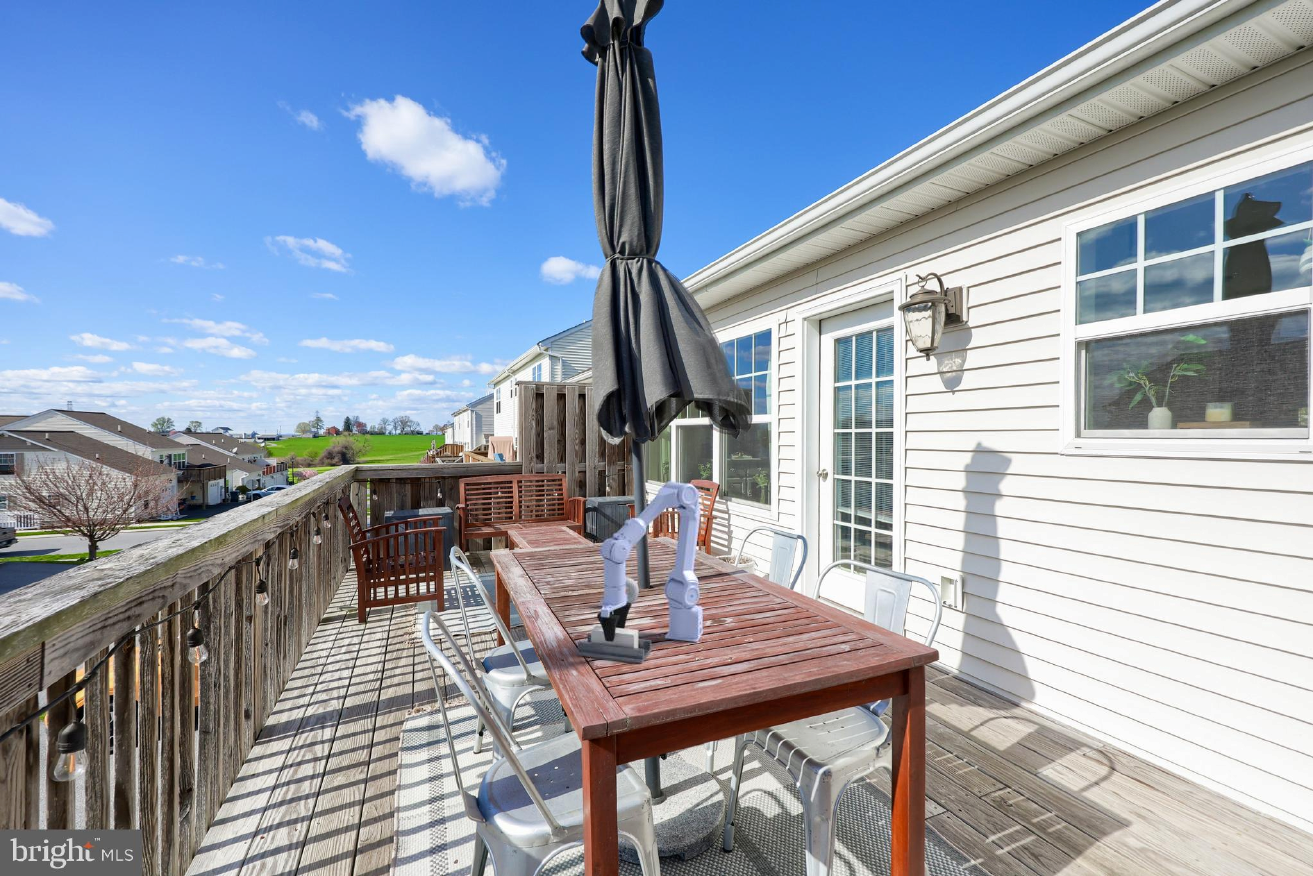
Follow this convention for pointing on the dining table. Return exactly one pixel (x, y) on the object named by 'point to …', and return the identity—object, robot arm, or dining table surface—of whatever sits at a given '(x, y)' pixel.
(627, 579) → the donut
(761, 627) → the dining table surface
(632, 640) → the grey metal bar
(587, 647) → the grey u-channel tray
